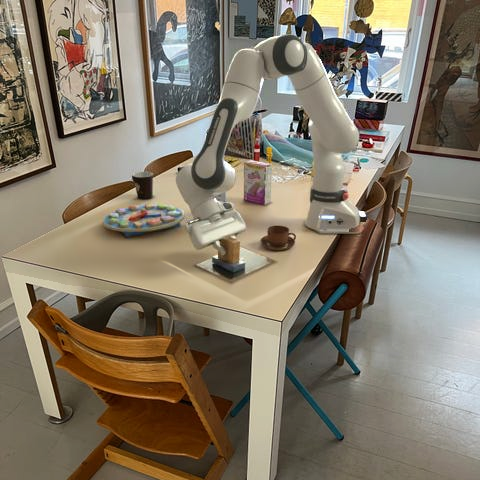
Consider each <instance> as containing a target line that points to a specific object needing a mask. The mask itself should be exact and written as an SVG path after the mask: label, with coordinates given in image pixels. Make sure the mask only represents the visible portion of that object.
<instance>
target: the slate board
mask: <svg viewBox="0 0 480 480" xmlns="http://www.w3.org/2000/svg"><path fill="white" fill-rule="evenodd" d="M239 260H241V261H243V262H245V268H244V269H241V270H239V271H236V272H231V271H229V270H227V269H225V268H223V267H221V266H219V265H217V264H214V263H212V257H211V258H209V259H206V260H204V261H201V262H199V263H196V264H195V266H197V267H200V268H202V269H204V270H206V271H208V272H210V273H212V274H214V275H216V276H218V277H220V278H222V279H224V280H227V281H229V282H232V281H235V280H237V279H239V278H241V277H243V276H245V275H248V274H249V273H252V272H254V271H256V270H259V269H260V268H262V267H264V266H267V265H269V264H271V263H273V262H275V260H273V259H271V258H269V257H266V256H264V255H261V254H260V253H256V252H254V251H251V250H249V249H247V248H244V247H242V246H240V256H239Z"/></svg>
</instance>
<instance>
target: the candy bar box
mask: <svg viewBox="0 0 480 480" xmlns="http://www.w3.org/2000/svg"><path fill="white" fill-rule="evenodd" d="M272 169H273V164H272V163H266V162H262V161H257V160H254V159H253V160H252V159H249V160H246V161H243V201H245V202H250V203H254V204H258V205H261V206H267V205H268V204H270V203H271V202H272V201H271V199H272V177H273V176H272V174H273V170H272Z"/></svg>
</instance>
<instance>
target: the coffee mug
mask: <svg viewBox="0 0 480 480" xmlns="http://www.w3.org/2000/svg"><path fill="white" fill-rule="evenodd" d="M131 179H132V182H133V184H134V188H135V190H136V191H135V192H136V195H137V199H139V200H142V201H143V200H150V199H153V197H154V195H153V194H154V193H153V192H154V173H153V172H151V171H137V172H134V173H133V174H132V175H131Z"/></svg>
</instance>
